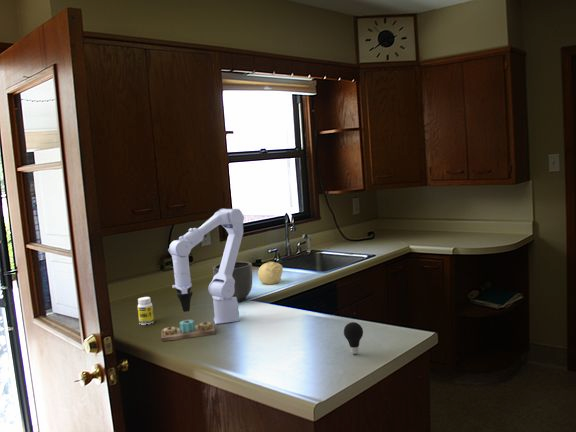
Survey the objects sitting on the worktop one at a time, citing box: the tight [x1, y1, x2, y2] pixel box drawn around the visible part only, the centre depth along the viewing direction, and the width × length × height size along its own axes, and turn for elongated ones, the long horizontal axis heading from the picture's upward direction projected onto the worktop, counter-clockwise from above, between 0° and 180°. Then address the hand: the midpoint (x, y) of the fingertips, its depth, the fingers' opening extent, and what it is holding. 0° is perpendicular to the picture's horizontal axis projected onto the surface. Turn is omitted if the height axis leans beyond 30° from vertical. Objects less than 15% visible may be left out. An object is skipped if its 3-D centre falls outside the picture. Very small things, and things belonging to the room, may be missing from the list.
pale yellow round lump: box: [257, 261, 284, 285], centre depth 273 cm, size 12×12×11 cm
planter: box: [212, 260, 253, 303], centre depth 244 cm, size 17×17×16 cm
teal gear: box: [178, 319, 196, 333], centre depth 202 cm, size 5×5×3 cm
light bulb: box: [343, 321, 364, 355], centre depth 167 cm, size 6×6×10 cm
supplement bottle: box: [137, 296, 155, 326], centre depth 220 cm, size 6×6×10 cm
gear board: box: [160, 319, 216, 342], centre depth 202 cm, size 19×10×5 cm, turn 103°
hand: (185, 308), depth 203 cm, fingers open, 7 cm apart
